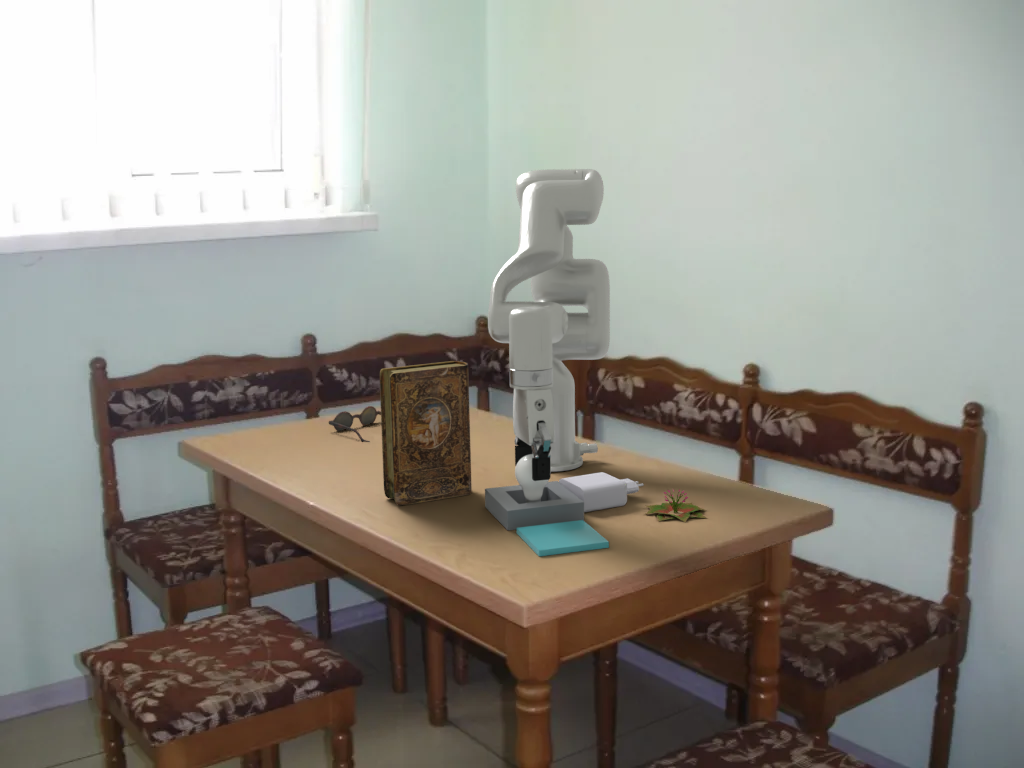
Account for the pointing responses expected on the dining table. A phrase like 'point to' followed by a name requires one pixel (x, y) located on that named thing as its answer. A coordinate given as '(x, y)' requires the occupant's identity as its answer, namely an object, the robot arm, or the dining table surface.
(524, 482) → the lightbulb
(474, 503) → the dining table surface
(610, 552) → the dining table surface
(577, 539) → the plate
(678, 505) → the lily flower
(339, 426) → the eyeglasses
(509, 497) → the frame
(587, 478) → the charger
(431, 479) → the book
